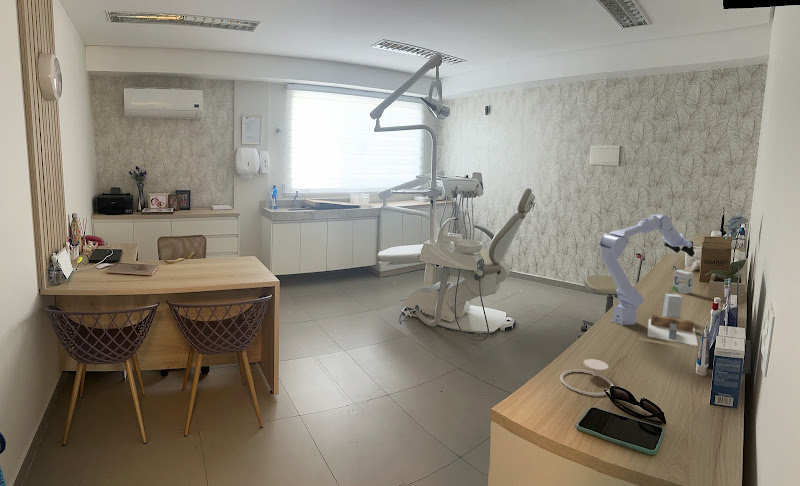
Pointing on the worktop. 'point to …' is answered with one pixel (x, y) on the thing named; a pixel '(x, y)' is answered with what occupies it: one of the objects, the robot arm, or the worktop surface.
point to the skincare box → (672, 305)
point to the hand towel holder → (594, 365)
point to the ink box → (682, 281)
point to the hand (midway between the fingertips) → (685, 253)
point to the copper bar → (666, 321)
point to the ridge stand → (672, 334)
